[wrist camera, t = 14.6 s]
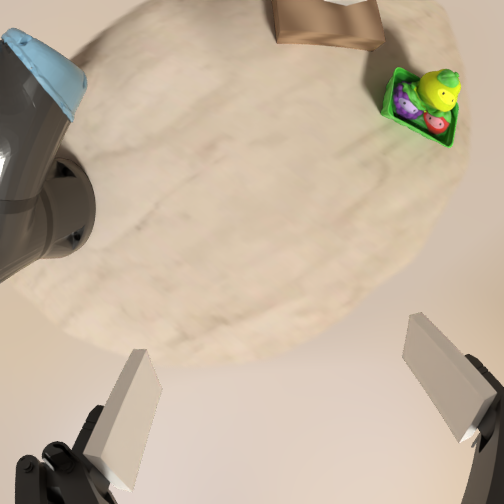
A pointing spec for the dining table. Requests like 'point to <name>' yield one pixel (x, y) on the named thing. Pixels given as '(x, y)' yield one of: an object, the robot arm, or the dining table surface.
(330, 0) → the die
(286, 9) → the walnut block
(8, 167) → the robot arm
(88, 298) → the dining table surface
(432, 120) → the fruit basket
